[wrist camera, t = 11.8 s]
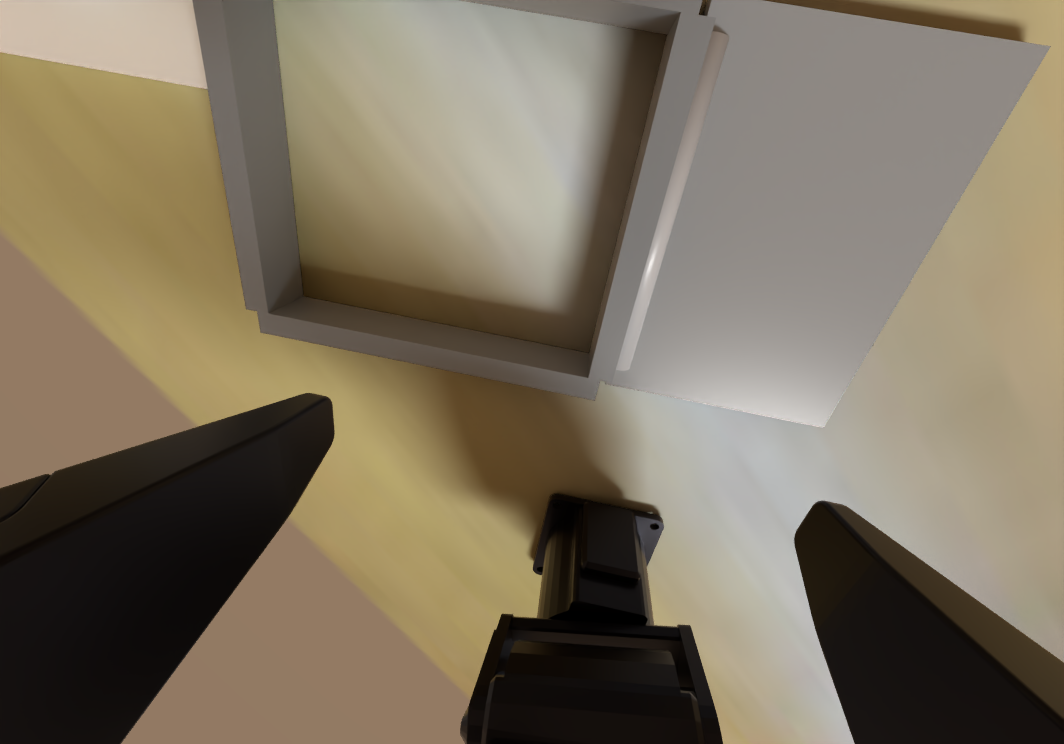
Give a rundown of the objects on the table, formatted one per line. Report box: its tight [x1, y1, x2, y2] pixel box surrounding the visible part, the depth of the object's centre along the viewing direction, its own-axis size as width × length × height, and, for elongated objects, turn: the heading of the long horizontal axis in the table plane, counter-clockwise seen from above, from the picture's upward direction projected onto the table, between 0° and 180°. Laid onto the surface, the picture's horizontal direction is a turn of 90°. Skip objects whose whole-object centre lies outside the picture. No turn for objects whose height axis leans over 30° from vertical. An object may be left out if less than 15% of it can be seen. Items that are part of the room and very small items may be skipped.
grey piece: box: [192, 0, 1051, 428], centre depth 16 cm, size 14×26×2 cm, turn 81°
